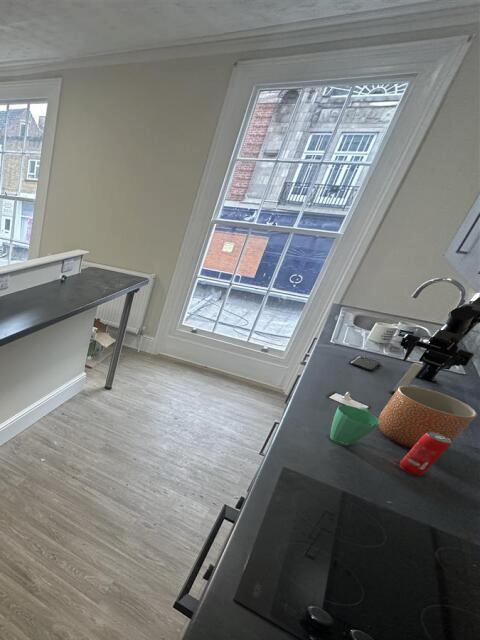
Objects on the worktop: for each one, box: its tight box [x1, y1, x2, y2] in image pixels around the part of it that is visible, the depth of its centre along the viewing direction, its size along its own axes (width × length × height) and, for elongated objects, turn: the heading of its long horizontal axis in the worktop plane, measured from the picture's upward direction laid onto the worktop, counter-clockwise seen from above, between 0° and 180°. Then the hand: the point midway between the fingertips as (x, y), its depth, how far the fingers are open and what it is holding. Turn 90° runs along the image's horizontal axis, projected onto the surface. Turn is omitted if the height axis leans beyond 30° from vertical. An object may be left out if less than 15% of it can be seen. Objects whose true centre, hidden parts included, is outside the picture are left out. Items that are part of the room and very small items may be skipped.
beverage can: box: [399, 432, 452, 476], centre depth 111 cm, size 5×5×12 cm
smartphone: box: [350, 355, 381, 372], centre depth 176 cm, size 7×1×15 cm
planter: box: [377, 385, 478, 450], centre depth 123 cm, size 17×17×15 cm
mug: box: [329, 404, 380, 447], centre depth 122 cm, size 15×10×10 cm
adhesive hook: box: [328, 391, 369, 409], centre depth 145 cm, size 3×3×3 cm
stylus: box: [390, 362, 424, 395], centre depth 150 cm, size 2×2×13 cm
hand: (419, 366), depth 150 cm, fingers open, 9 cm apart
